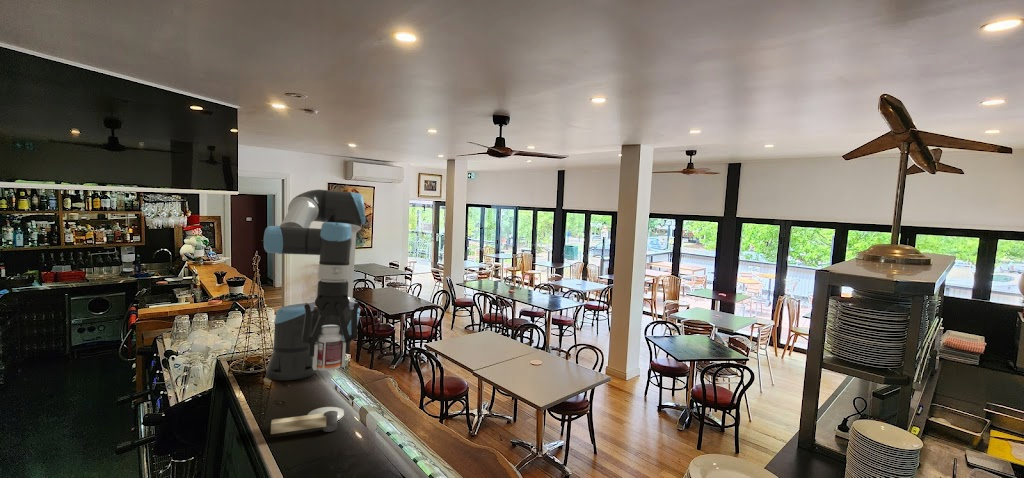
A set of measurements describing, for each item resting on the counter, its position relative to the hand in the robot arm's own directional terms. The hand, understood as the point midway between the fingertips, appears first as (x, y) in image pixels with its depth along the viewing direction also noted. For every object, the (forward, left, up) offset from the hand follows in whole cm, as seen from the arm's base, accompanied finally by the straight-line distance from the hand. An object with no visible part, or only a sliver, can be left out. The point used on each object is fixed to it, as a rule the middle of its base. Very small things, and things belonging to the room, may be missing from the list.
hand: (328, 366), depth 114 cm
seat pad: (0, 0, -14) cm, 14 cm away
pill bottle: (0, 0, -1) cm, 1 cm away
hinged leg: (+8, -6, -13) cm, 16 cm away
